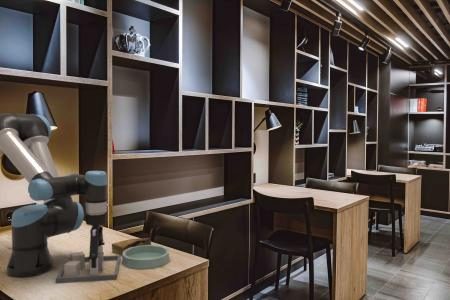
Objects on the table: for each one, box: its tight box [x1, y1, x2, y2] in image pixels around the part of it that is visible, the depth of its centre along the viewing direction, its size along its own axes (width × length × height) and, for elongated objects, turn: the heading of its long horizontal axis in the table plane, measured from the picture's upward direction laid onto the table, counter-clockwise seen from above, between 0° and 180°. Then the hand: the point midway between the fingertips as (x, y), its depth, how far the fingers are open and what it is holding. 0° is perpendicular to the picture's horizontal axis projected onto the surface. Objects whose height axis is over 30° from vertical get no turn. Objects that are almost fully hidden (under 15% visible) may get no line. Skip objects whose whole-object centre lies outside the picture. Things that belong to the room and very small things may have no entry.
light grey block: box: [63, 261, 82, 277], centre depth 134 cm, size 4×4×5 cm
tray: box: [55, 254, 122, 284], centre depth 141 cm, size 20×21×2 cm
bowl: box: [121, 244, 170, 270], centre depth 151 cm, size 18×18×4 cm
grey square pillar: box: [98, 251, 105, 273], centre depth 141 cm, size 4×4×6 cm
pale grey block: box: [69, 250, 86, 269], centre depth 144 cm, size 4×4×5 cm
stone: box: [111, 237, 152, 257], centre depth 163 cm, size 15×9×5 cm, turn 131°
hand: (96, 269), depth 141 cm, fingers open, 13 cm apart
